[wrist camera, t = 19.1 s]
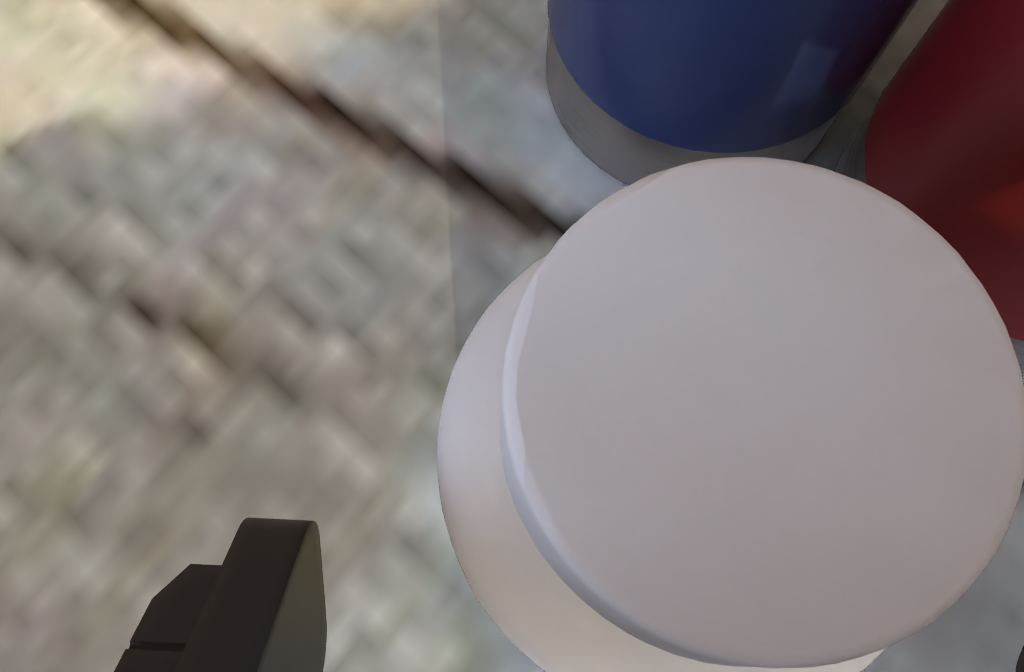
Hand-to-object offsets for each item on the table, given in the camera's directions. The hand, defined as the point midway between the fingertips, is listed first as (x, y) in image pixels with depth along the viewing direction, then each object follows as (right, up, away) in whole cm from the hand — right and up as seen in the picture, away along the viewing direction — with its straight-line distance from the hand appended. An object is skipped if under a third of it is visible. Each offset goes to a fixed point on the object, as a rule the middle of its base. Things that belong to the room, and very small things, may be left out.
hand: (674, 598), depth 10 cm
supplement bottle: (0, 0, +6) cm, 6 cm away
